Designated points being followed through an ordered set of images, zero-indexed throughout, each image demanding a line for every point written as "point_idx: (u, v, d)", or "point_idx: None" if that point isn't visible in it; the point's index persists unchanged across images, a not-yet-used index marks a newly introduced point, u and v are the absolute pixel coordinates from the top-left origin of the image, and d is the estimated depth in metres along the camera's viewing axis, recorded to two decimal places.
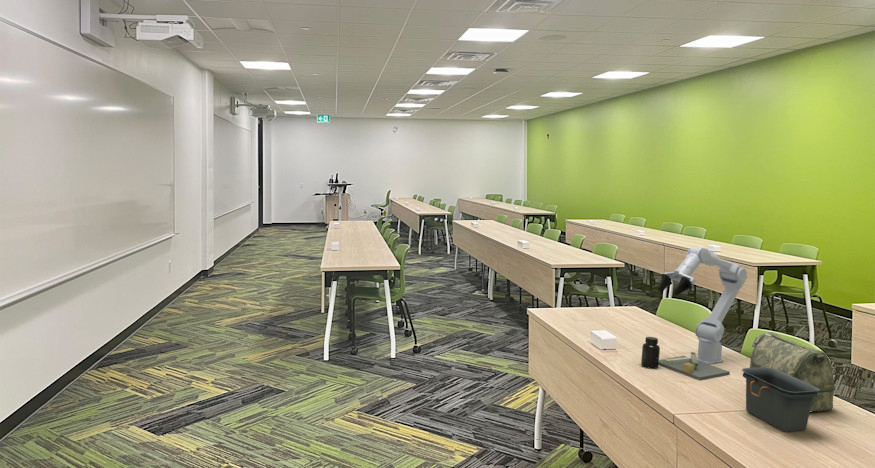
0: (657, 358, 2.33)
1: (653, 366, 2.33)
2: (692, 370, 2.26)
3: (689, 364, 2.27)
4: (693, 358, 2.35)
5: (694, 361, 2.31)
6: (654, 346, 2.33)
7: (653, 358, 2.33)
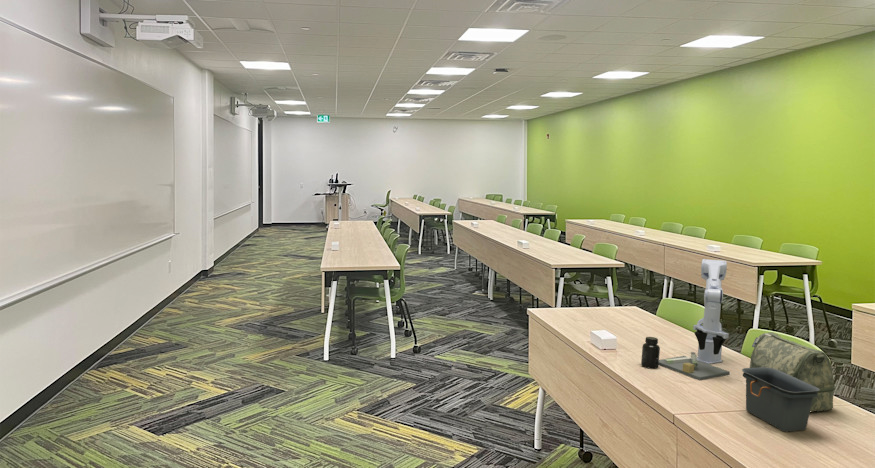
0: (657, 358, 2.33)
1: (653, 366, 2.33)
2: (692, 370, 2.26)
3: (689, 364, 2.27)
4: (693, 358, 2.35)
5: (694, 361, 2.31)
6: (654, 346, 2.33)
7: (653, 358, 2.33)
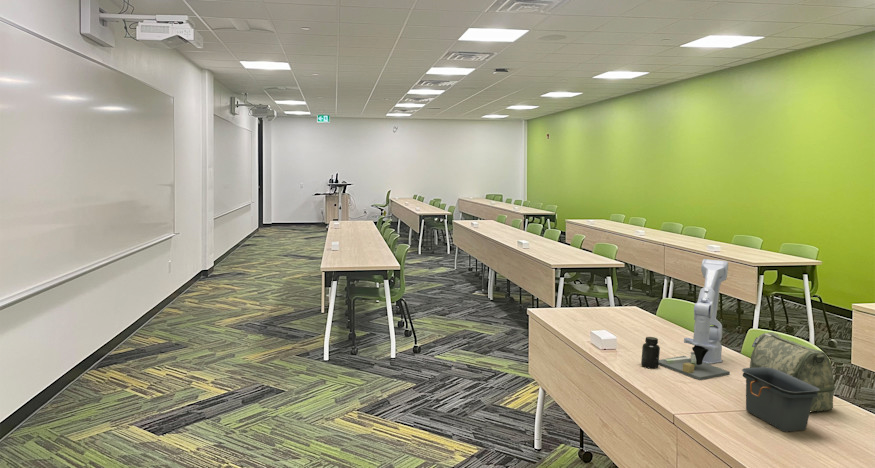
0: (657, 358, 2.33)
1: (653, 366, 2.33)
2: (692, 370, 2.26)
3: (689, 364, 2.27)
4: (692, 358, 2.35)
5: (693, 361, 2.31)
6: (654, 346, 2.33)
7: (653, 358, 2.33)
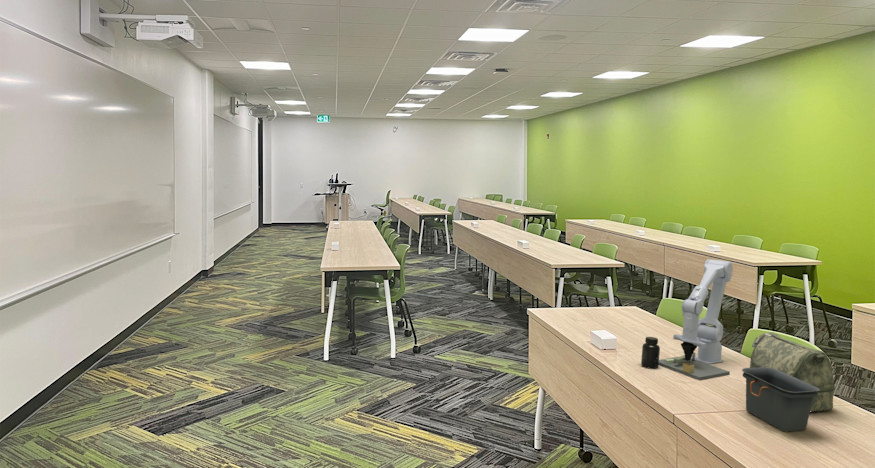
0: (657, 358, 2.33)
1: (653, 366, 2.33)
2: (692, 370, 2.26)
3: (689, 364, 2.27)
4: (683, 356, 2.37)
5: (678, 358, 2.35)
6: (654, 346, 2.33)
7: (653, 358, 2.33)
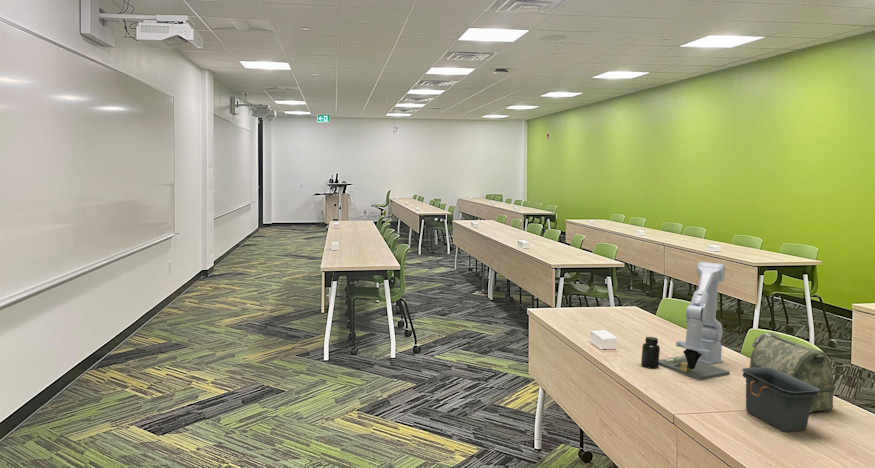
0: (657, 358, 2.33)
1: (653, 366, 2.33)
2: (690, 369, 2.27)
3: (686, 363, 2.28)
4: (683, 356, 2.37)
5: (678, 358, 2.35)
6: (654, 346, 2.33)
7: (653, 358, 2.33)
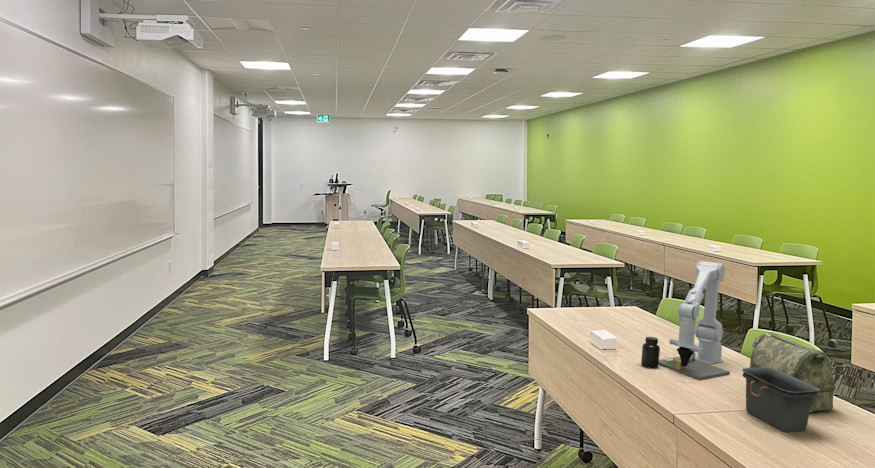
0: (657, 358, 2.33)
1: (653, 366, 2.33)
2: (683, 367, 2.30)
3: (680, 361, 2.31)
4: None
5: (677, 358, 2.35)
6: (654, 346, 2.33)
7: (653, 358, 2.33)
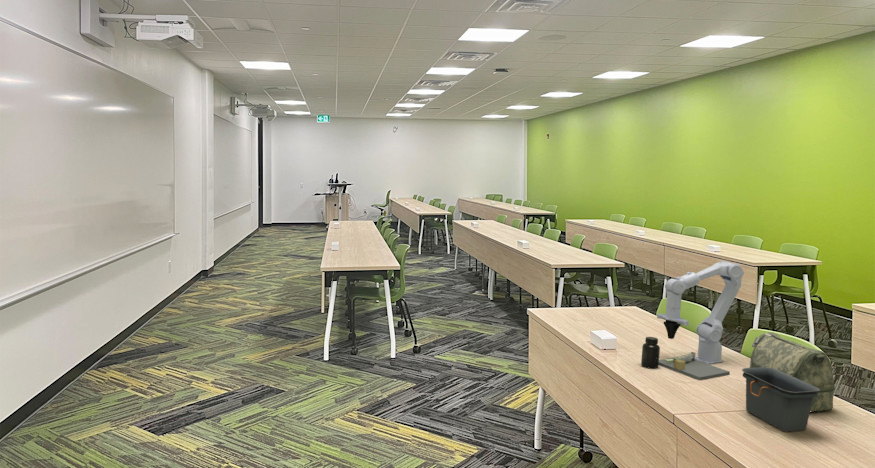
0: (657, 358, 2.33)
1: (653, 366, 2.33)
2: (683, 367, 2.30)
3: (680, 361, 2.31)
4: (682, 356, 2.37)
5: (677, 358, 2.35)
6: (654, 346, 2.33)
7: (653, 358, 2.33)
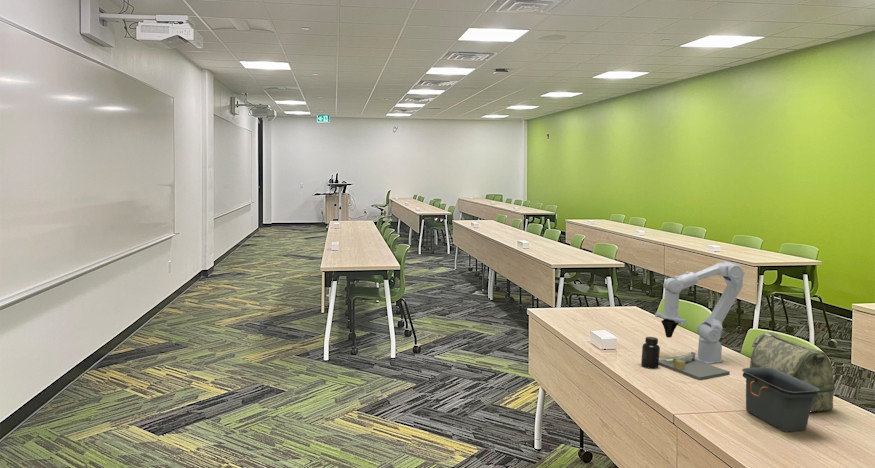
0: (657, 358, 2.33)
1: (653, 366, 2.33)
2: (683, 367, 2.30)
3: (680, 361, 2.31)
4: (682, 356, 2.37)
5: (677, 358, 2.35)
6: (654, 346, 2.33)
7: (653, 358, 2.33)
